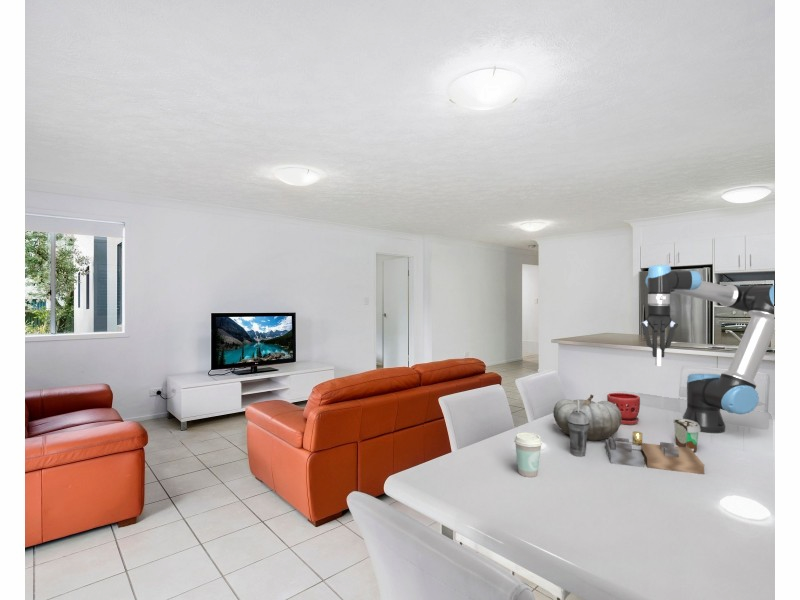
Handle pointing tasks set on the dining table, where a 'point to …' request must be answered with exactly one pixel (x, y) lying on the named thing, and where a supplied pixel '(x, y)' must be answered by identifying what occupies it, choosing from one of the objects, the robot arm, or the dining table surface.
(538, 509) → the dining table surface
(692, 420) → the robot arm
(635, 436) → the bolt
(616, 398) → the plant pot
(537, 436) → the coffee cup
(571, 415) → the beverage cup
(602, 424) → the gourd
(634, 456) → the door board
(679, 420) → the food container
